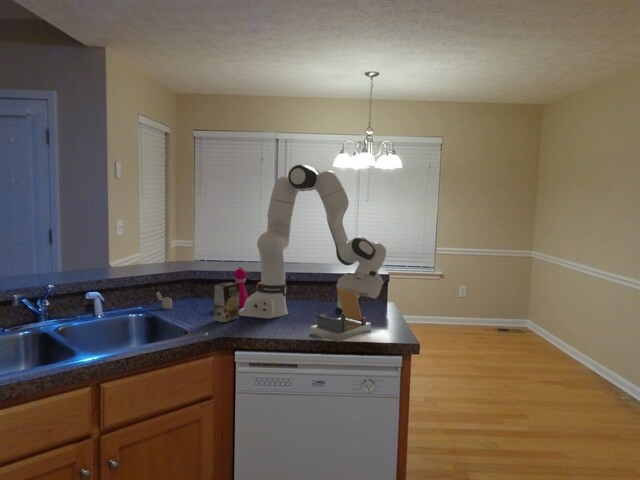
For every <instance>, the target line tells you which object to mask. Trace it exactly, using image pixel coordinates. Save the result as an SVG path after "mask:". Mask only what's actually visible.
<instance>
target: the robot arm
mask: <svg viewBox="0 0 640 480" xmlns="http://www.w3.org/2000/svg"><path fill="white" fill-rule="evenodd" d="M304 191H305V192H307V191H316V192H317V194H318V195H319V198H320V199H321V201H322V205H323V207H324V211H325V215H326V220H327V224H328V228H329V231H330V233H331V237H332V239H333V242H334V246H335V252H336V258H337V260H338V261H339V262H340V263H341V265H342V264H343V265H344V266H352V265H354V264H355V263H358V265H357V267H356V269H355V271H354V273H350V272H347V273H344V274H343V275H342V276H341V277H340V278H341V279H340V280H339V279H338V281H337V283H336V289H337V288H340V289H345V290H350V291H355V292H356V295H357V299H358V300H359V298H361V297H366V298H371V299H376V298H378V297H379V295H380V293H381V290H382V286H383V285H384V284H385V282H384V280H383V278H382V276H381V275H380V274H379V273H378V271H379V270H380V269H381V268H382V265H383V264H384V262H385V260H386V257H387V249H386V248H385V246H384V245H383V244H382V243H380V242H376V241H374V242H373V241H370V240H368V239H367V238H365V237H363V236H356V237H354V238H352V239H350V240H349V239H348V236H347V233H346V230H345V227H344V225H343V224H344V223H343V219H344V217H345V214H346V212H347V210H348V208H349V204H350V202H349V198H348V195H347V192H346V190H345V188H344V186H343V185H342V182H341V181H340V179H339V178H338V176H337V175H336V173H335V172H334V171H332V170H324V171H321V172H319V170H318V169H317V168H315V167H312V166H311V165H306V164H296V165H295V166H292V167H291V168H290V170H289V171H288V176H287V175H286V176H285V175H284V176H280V177H278V178H277V179H276V180H275V184H274V185H273V188H272V191H271V196H270V200H269V206H268V210H267V216H266V217H267V228H266V231H265V232H263V233H261V234H260V236H259V238H258V239H257V241H256V242H257V243H256V245H257V249H258V253H259V260H260V267H261V270H260V272H261V274H260V275H261V277H260V280H261V281H259V282H258V283H257V284H256V291H255V292H253V293H252V294H251V295H249V296H248V298H247V299H246V301H245V304H244V307H241V308H239V316H241V317H250V318H252V317H253V318H261V319H273V318H279V317H284V316H286V315H288V313H289V312H288V307H287V303H286V295H287V283H286V264H285V259H284V251H285V250H286V249H288V246H289V243H290V234H291V222H292V216H293V211H294V207H295V202H296V199H297V195H298V193H300V192H304Z"/></svg>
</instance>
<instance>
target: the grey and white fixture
mask: <svg viewBox="0 0 640 480" xmlns="http://www.w3.org/2000/svg"><path fill="white" fill-rule="evenodd" d="M371 330H372V323H371V322H367V317H363V316H362V319H361V322H359V321H355V320H352V319H348V318H344V314H343V312H341V313H340V317H339V318H334V317H331V316H326V314H324V313H322V314H318V315H316V324H313V325H311V326H310V332H309V333H311V334H310V335H313V334H314V335H313V336H316V335H317V336H316V337H319V336H320V338H323V337H324V338H323V339H326V338H327V339H326V340H330V341H332V342H336V343H339V342H342V341H344V339H345V340H347V339H350V338H352V337H355V336H358V335H361V334H363V333H364V334H365V333H367V332H369V331H371Z"/></svg>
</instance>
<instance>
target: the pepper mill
mask: <svg viewBox="0 0 640 480" xmlns="http://www.w3.org/2000/svg"><path fill="white" fill-rule="evenodd" d="M247 275H248V274H247V271H246V269H243V266H242V265H239V266H238V268H237V269H236V270H235V271H234V277H235V282H234V283H239V308H244V304H245V301H246V299H247V298H248V297H249V296H248V292H247V290H246V286H245V283H246V280H247V279H246V277H247Z"/></svg>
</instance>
